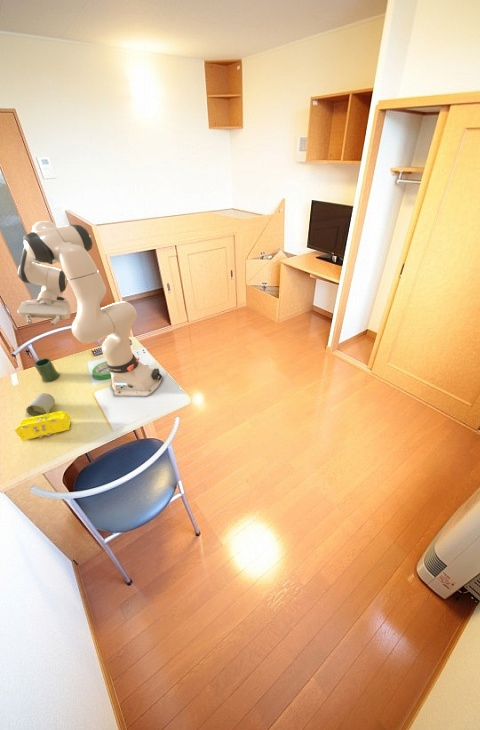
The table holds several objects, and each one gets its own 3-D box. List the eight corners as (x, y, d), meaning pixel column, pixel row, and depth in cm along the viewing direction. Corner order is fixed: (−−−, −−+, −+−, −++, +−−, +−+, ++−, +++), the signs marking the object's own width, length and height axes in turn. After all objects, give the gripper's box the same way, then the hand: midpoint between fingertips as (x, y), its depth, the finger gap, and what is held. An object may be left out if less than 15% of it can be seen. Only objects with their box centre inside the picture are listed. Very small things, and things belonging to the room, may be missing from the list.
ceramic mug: (59, 403, 128) (51, 390, 124) (50, 417, 122) (41, 404, 117) (33, 405, 128) (24, 392, 123) (23, 420, 121) (13, 407, 116)
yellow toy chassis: (23, 442, 112) (11, 428, 107) (27, 431, 116) (16, 417, 111) (70, 431, 116) (61, 417, 111) (72, 421, 121) (64, 407, 116)
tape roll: (94, 368, 148) (92, 364, 146) (117, 362, 152) (116, 358, 150) (94, 382, 140) (92, 377, 138) (118, 375, 143) (117, 371, 142)
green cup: (61, 374, 144) (53, 359, 138) (51, 382, 139) (42, 367, 133) (50, 372, 145) (42, 357, 139) (40, 380, 140) (30, 365, 135)
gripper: (20, 295, 136) (10, 317, 129) (70, 298, 143) (64, 319, 135) (25, 305, 141) (16, 327, 133) (74, 307, 147) (68, 328, 140)
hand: (41, 323), depth 134 cm, fingers open, 8 cm apart
